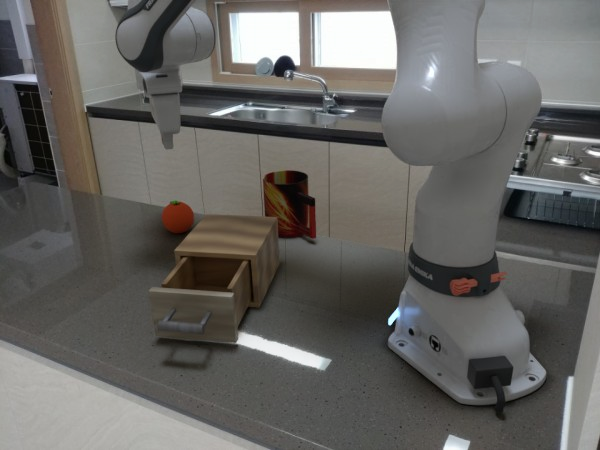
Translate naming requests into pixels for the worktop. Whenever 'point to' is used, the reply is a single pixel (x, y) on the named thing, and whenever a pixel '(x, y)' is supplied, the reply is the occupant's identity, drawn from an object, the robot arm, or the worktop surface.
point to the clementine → (177, 217)
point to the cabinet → (237, 245)
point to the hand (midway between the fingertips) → (167, 146)
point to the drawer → (203, 299)
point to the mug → (290, 203)
